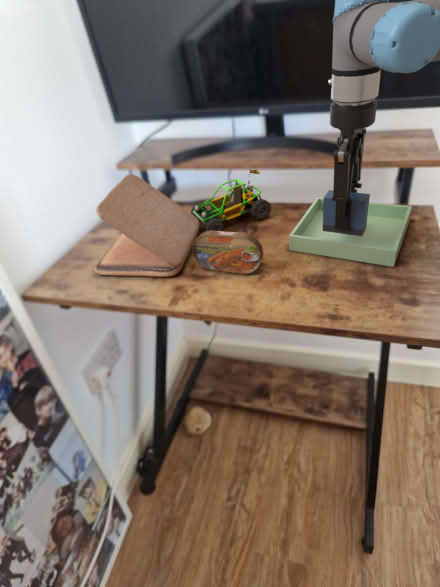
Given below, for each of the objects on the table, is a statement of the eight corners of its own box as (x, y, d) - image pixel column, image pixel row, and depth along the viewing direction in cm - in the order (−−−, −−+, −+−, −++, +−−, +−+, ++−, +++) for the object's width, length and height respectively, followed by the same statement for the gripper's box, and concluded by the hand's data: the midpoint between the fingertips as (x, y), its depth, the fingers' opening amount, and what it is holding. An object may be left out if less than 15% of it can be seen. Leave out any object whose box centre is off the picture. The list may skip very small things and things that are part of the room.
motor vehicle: (191, 220, 105) (184, 182, 98) (256, 199, 110) (253, 161, 103) (208, 238, 96) (202, 197, 90) (278, 215, 101) (277, 174, 95)
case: (180, 279, 84) (164, 209, 74) (90, 276, 89) (65, 211, 79) (204, 230, 99) (193, 167, 90) (127, 231, 105) (109, 171, 95)
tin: (194, 268, 87) (188, 234, 82) (200, 260, 89) (194, 226, 84) (261, 276, 81) (259, 240, 76) (266, 268, 83) (264, 232, 78)
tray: (409, 220, 91) (412, 206, 89) (393, 267, 78) (396, 251, 76) (316, 210, 101) (317, 196, 98) (289, 250, 88) (288, 235, 86)
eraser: (366, 228, 82) (370, 193, 78) (362, 236, 80) (365, 201, 75) (327, 223, 86) (328, 190, 81) (322, 231, 83) (323, 197, 79)
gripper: (344, 88, 75) (337, 204, 89) (316, 114, 64) (313, 241, 78) (386, 87, 71) (372, 207, 86) (365, 114, 61) (353, 247, 75)
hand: (344, 223), depth 82 cm, fingers closed on eraser, 3 cm apart
